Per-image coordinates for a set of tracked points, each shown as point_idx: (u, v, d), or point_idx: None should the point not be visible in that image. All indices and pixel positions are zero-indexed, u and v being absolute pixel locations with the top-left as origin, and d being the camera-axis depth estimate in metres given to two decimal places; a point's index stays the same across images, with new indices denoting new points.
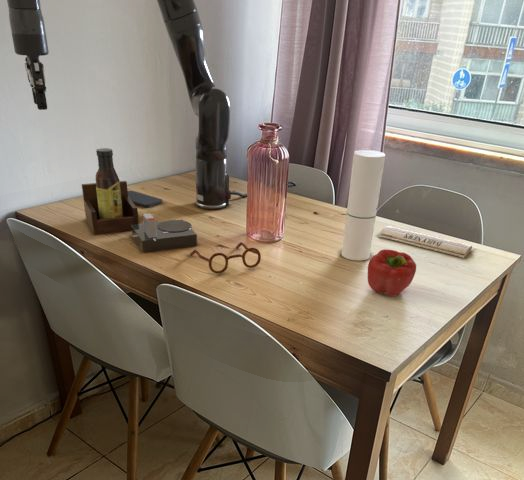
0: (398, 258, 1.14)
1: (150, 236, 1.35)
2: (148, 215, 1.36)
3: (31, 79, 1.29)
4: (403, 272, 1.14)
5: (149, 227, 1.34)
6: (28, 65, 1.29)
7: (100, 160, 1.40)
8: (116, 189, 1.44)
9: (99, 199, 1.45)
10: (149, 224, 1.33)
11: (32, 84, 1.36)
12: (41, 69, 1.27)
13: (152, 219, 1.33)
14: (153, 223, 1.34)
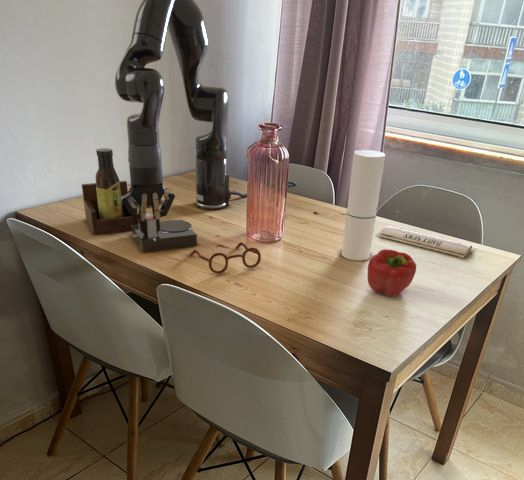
0: (398, 258, 1.14)
1: (150, 236, 1.35)
2: (148, 215, 1.36)
3: (138, 206, 1.34)
4: (403, 272, 1.14)
5: (149, 227, 1.34)
6: None
7: (100, 160, 1.40)
8: (116, 189, 1.44)
9: (99, 199, 1.45)
10: (149, 224, 1.33)
11: (152, 212, 1.36)
12: (124, 204, 1.30)
13: (152, 219, 1.33)
14: (153, 223, 1.34)
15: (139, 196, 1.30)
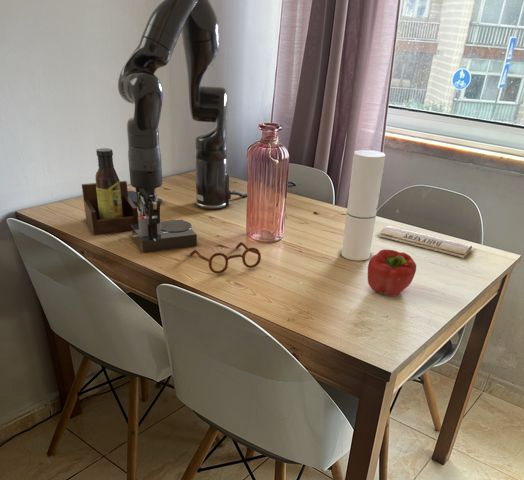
0: (398, 258, 1.14)
1: None
2: None
3: None
4: (403, 272, 1.14)
5: (139, 224, 1.35)
6: None
7: (100, 160, 1.40)
8: (116, 189, 1.44)
9: (99, 199, 1.45)
10: None
11: None
12: None
13: (140, 217, 1.34)
14: (139, 221, 1.34)
15: None
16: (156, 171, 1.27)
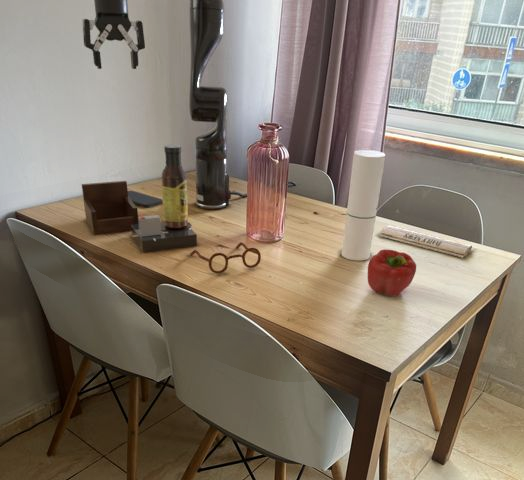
0: (398, 258, 1.14)
1: None
2: (154, 216, 1.35)
3: (97, 37, 1.32)
4: (403, 272, 1.14)
5: (139, 224, 1.35)
6: None
7: (168, 157, 1.33)
8: (183, 188, 1.37)
9: (165, 198, 1.37)
10: None
11: (130, 47, 1.35)
12: (84, 26, 1.28)
13: (140, 217, 1.34)
14: (139, 221, 1.34)
15: (104, 27, 1.29)
16: None
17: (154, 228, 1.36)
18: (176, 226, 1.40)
